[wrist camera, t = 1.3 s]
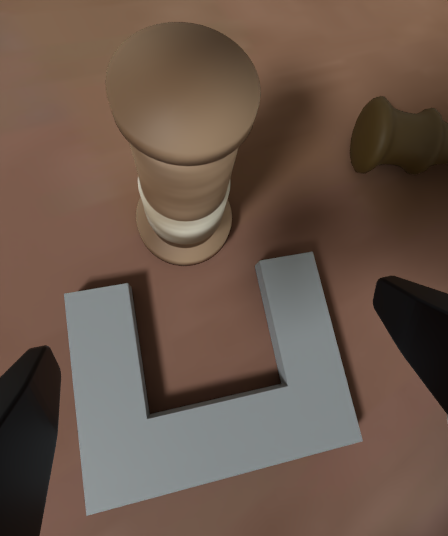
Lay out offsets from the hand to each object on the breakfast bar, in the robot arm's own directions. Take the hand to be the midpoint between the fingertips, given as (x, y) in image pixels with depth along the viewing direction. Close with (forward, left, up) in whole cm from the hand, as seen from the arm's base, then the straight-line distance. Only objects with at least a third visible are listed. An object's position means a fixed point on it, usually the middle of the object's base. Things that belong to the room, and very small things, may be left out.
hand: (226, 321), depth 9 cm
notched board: (-1, +1, -13) cm, 13 cm away
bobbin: (+5, -7, -13) cm, 16 cm away
